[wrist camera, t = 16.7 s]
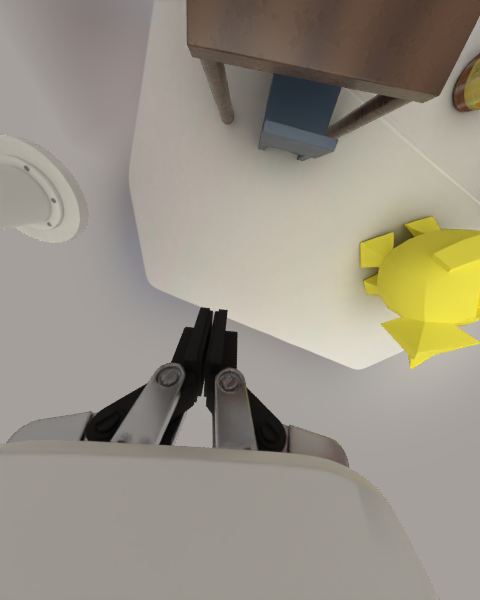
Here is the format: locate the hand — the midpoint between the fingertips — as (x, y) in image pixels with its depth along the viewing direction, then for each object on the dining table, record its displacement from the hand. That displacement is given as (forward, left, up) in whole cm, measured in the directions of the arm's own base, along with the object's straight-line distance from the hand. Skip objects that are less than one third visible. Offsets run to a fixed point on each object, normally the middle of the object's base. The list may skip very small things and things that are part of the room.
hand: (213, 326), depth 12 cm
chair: (+6, +16, -29) cm, 34 cm away
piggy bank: (+36, -2, -30) cm, 46 cm away
